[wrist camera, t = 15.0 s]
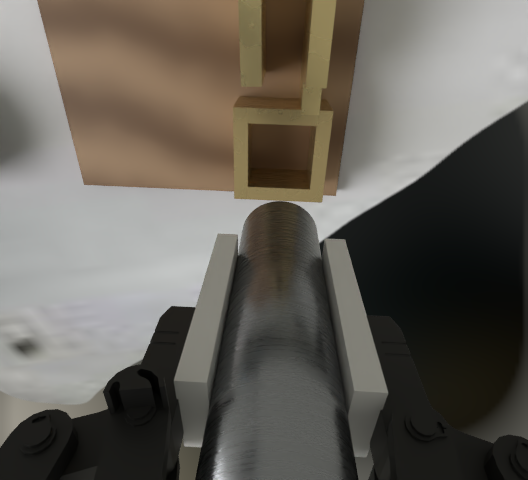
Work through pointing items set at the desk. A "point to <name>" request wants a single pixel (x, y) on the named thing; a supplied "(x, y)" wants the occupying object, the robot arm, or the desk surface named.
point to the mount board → (186, 88)
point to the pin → (278, 362)
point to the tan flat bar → (252, 42)
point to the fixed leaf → (291, 120)
